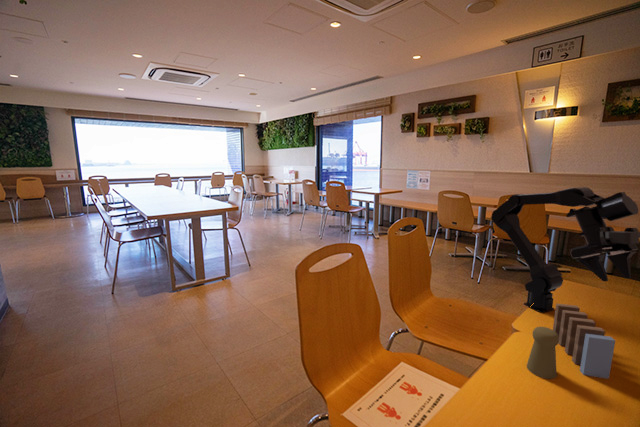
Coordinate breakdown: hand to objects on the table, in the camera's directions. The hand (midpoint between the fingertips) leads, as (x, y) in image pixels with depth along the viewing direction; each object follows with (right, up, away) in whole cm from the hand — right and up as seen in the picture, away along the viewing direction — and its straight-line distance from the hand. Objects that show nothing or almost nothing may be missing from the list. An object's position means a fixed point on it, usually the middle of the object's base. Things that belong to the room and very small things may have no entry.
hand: (617, 279), depth 84 cm
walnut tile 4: (-15, -20, -7) cm, 26 cm away
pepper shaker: (-28, -21, -9) cm, 36 cm away
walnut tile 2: (-13, -19, 0) cm, 23 cm away
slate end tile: (-16, -21, -11) cm, 29 cm away
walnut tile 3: (-14, -19, -3) cm, 24 cm away
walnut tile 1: (-12, -18, +4) cm, 22 cm away
